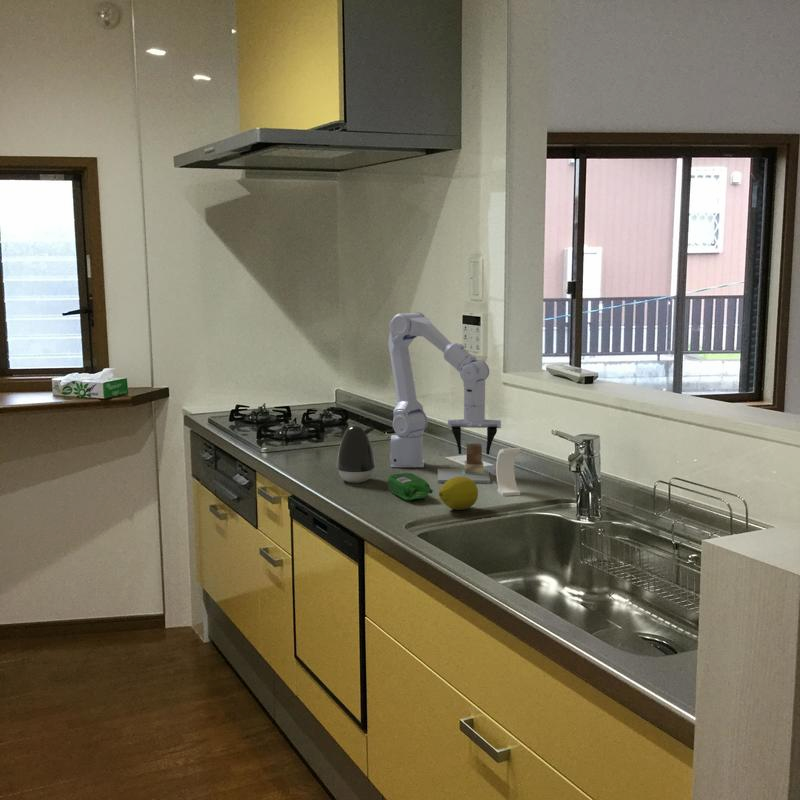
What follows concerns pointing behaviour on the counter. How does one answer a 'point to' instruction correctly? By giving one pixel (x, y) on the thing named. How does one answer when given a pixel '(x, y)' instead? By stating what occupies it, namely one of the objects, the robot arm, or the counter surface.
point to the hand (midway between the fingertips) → (473, 453)
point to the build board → (462, 475)
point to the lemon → (459, 493)
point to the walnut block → (474, 454)
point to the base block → (473, 468)
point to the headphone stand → (506, 472)
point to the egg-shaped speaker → (355, 455)
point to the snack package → (408, 486)
